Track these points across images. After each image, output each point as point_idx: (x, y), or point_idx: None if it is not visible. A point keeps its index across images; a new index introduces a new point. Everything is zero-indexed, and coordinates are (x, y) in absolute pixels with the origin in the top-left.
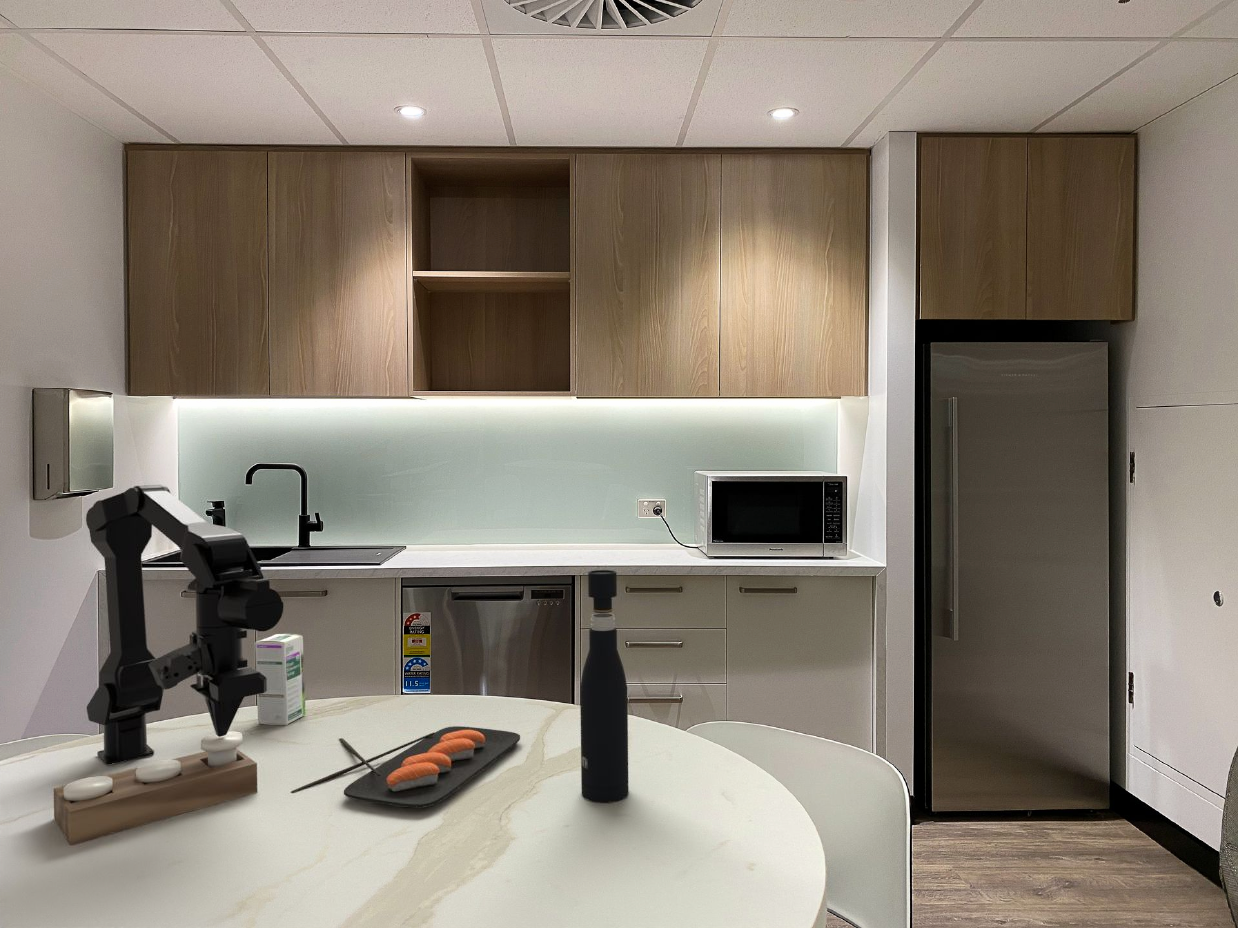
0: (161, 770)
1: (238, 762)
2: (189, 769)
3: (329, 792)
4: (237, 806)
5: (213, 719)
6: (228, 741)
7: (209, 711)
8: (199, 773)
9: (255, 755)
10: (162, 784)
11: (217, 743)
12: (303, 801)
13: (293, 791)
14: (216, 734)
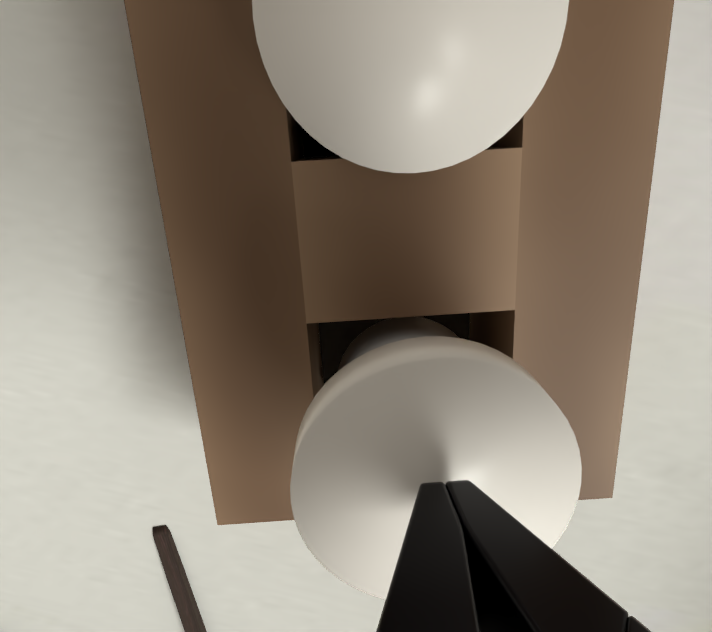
0: (311, 10)
1: (292, 460)
2: (369, 220)
3: (77, 615)
4: (137, 340)
5: (491, 569)
6: (314, 507)
7: (608, 621)
8: (255, 252)
9: (665, 529)
10: (191, 2)
11: (318, 440)
12: (40, 534)
13: (155, 534)
14: (454, 481)
